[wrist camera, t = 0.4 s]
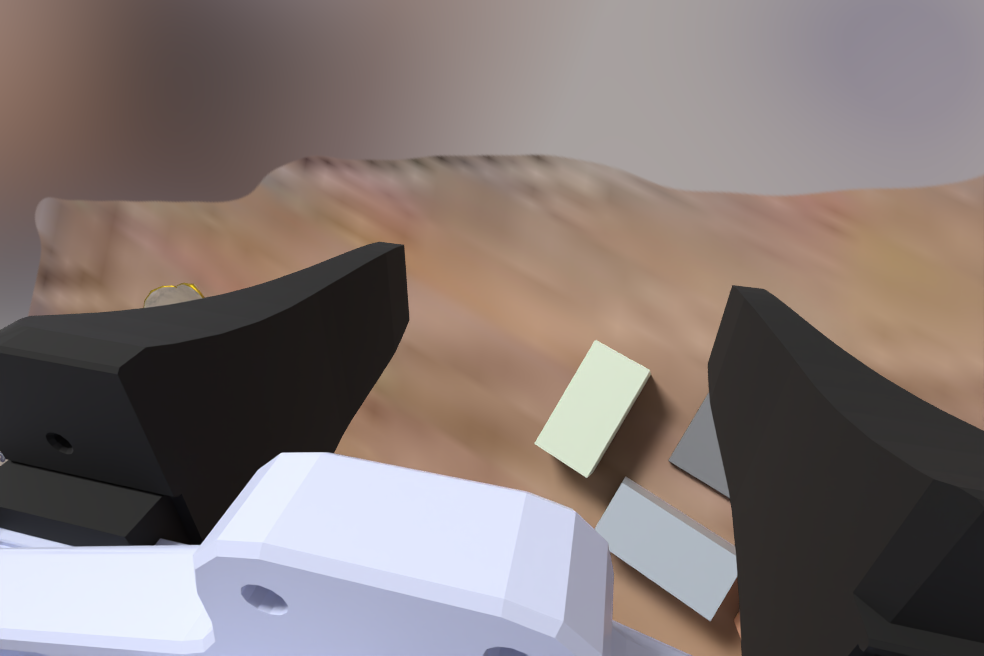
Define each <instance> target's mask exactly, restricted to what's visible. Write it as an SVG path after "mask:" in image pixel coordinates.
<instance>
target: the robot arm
mask: <svg viewBox="0 0 984 656" xmlns="http://www.w3.org/2000/svg"><path fill="white" fill-rule="evenodd" d="M408 322H409V307H408V293H407V279H406V265H405V251H404V245H401V244H393V243H385V242H377V243H372V244H369V245H366V246H363V247H360V248H357V249H354V250H352V251H349V252H347V253H344V254H342V255H339V256H336V257H334V258H331V259H329V260H326V261H324V262H321V263H319V264H316V265H314V266H311V267H309V268H306V269H303V270H300V271H297V272H295V273H292V274H289V275H286V276H283V277H281V278H278V279H275V280H272V281H269V282H266V283H263V284H259V285H256V286H252V287H249V288H245V289H241V290H237V291H234V292H230V293H226V294H221V295H217V296H212V297H207V298H202V299H196V300H191V301H186V302H181V303H175V304H170V305H163V306H155V307H148V308H140V309H131V310H122V311H112V312H100V313H83V314H64V315H45V316H29V317H25V318H22V319H20V320H18V321H16V322H14V323H12V324H10V325H8V326H7V327H5V328H3V329H1V330H0V451H1V453H2V454H3V456H4V457H5V459H7V461H6V462H5V463H4V464H2V465H1V466H0V656H692V655H690V654H687V653H685V652H683V651H681V650H678V649H676V648H674V647H672V646H669V645H667V644H665V643H663V642H660V641H658V640H656V639H654V638H652V637H649V636H647V635H645V634H643V633H640V632H638V631H636V630H634V629H631V628H629V627H627V626H625V625H622V624H620V623H618V622H616V621H614V620H612V611H613V584H614V572H613V566H612V561H611V556H610V550H609V545H608V542H607V541H606V540H605V539H604V538H603V537H602V536H601V535H600V534H599V533H598V532H597V531H596V530H594V529H593V528H592V527H591V526H590V525H589V524H588V523H587V522H586V521H585V520H584V519H583V518H582V517H581V516H580V515H579V514H578V513H577V512H575V511H574V510H573V509H571V508H569V507H566V506H564V505H561V504H558V503H556V502H553V501H551V500H548V499H545V498H543V497H540V496H538V495H535V494H532V493H530V492H527V491H522V490H517V489H512V488H507V487H502V486H496V485H491V484H486V483H481V482H476V481H471V480H466V479H461V478H456V477H451V476H446V475H441V474H436V473H430V472H425V471H420V470H415V469H410V468H405V467H400V466H395V465H390V464H385V463H380V462H375V461H370V460H364V459H359V458H354V457H349V456H344V455H339V454H334V452H335V450H336V448H337V446H338V444H339V442H340V440H341V438H342V436H343V434H344V432H345V431H346V429H347V427H348V425H349V424H350V422H351V420H352V419H353V417H354V416H355V414H356V413H357V411H358V409H359V408H360V406H361V405H362V403H363V402H364V400H365V399H366V397H367V396H368V394H369V393H370V391H371V390H372V388H373V386H374V385H375V383H376V382H377V380H378V379H379V377H380V376H381V374H382V373H383V371H384V369H385V368H386V366H387V365H388V363H389V362H390V360H391V358H392V357H393V355H394V353H395V352H396V350H397V347H398V345H399V343H400V341H401V339H402V336H403V334H404V332H405V329H406V327H407V324H408ZM708 382H709V398H710V406H711V411H712V416H713V421H714V426H715V430H716V435H717V440H718V444H719V449H720V453H721V458H722V462H723V467H724V471H725V476H726V481H727V485H728V490H729V496H730V502H731V508H732V517H733V528H734V539H735V550H736V563H737V577H738V591H739V607H740V628H741V650H742V656H984V431H983V430H981V429H979V428H977V427H975V426H973V425H971V424H969V423H967V422H964V421H962V420H960V419H958V418H956V417H954V416H952V415H950V414H948V413H946V412H944V411H942V410H940V409H938V408H937V407H935V406H933V405H931V404H929V403H927V402H925V401H923V400H922V399H920V398H918V397H916V396H915V395H913V394H911V393H910V392H908V391H906V390H905V389H903V388H901V387H899V386H898V385H896V384H894V383H893V382H891V381H889V380H888V379H886V378H884V377H883V376H881V375H880V374H878V373H876V372H875V371H873V370H872V369H870V368H869V367H867V366H866V365H865V364H863V363H862V362H860V361H859V360H857V359H856V358H854V357H853V356H852V355H850V354H849V353H847V352H846V351H844V350H843V349H842V348H840V347H839V346H838V345H836V344H835V343H834V342H832V341H831V340H830V339H828V338H827V337H826V336H824V335H823V334H822V333H821V332H819V331H818V330H817V329H815V328H814V327H813V326H812V325H810V324H809V323H808V322H807V321H805V320H804V319H803V318H802V317H800V316H799V315H798V314H797V313H796V312H794V311H793V310H792V309H791V308H789V307H788V306H787V305H786V304H784V303H783V302H782V301H780V300H779V299H778V298H777V297H775V296H774V295H772V294H771V293H769V292H768V291H766V290H765V289H759V288H751V287H743V286H735V285H732V288H731V291H730V295H729V298H728V301H727V304H726V307H725V311H724V314H723V317H722V320H721V323H720V327H719V330H718V333H717V336H716V339H715V342H714V346H713V349H712V352H711V355H710V358H709V362H708Z"/></svg>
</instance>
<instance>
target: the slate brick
mask: <svg viewBox="0 0 984 656" xmlns="http://www.w3.org/2000/svg"><path fill="white" fill-rule="evenodd" d="M594 530H596V531H597V532H598V533H599V534H600V535H601V536H602V537H603V538H604V539H605V540H606V541H607V542H608V545H609V550H610V552H612V553H613V554H615V555H616V556H617V557H619V558H620V559H622V560H623V561H625V562H626V563H627V564H629V565H630V566H632V567H633V568H635V569H636V570H638V571H639V572H640V573H642V574H643V575H645V576H646V577H648V578H649V579H650V580H652V581H653V582H655V583H656V584H658V585H659V586H660V587H662V588H663V589H665V590H666V591H668V592H669V593H670V594H672V595H673V596H675V597H676V598H678V599H679V600H681V601H682V602H683V603H685V604H686V605H688V606H689V607H691V608H692V609H693V610H695V611H696V612H698V613H699V614H701V615H702V616H703V617H705V618H706V619H708V620H709V621H711V619H712V618H713V616H714V614H715V613H716V611H717V609H718V608H719V606H720V604H721V603H722V601H723V599H724V598H725V596H726V594H727V593H728V591H729V589H730V588H731V586H732V584H733V583H734V581H735V579H736V578H737V563H736V550H735V546H734V545H733V544H731V543H730V542H728V541H726V540H725V539H723V538H722V537H720V536H719V535H717V534H715V533H714V532H712V531H711V530H709V529H708V528H706V527H705V526H703V525H701V524H700V523H698V522H697V521H695V520H694V519H692V518H690V517H689V516H687V515H686V514H684V513H683V512H681V511H679V510H678V509H676V508H675V507H673V506H672V505H670V504H668V503H667V502H665V501H664V500H662V499H661V498H659V497H658V496H656V495H654V494H653V493H651V492H650V491H648V490H647V489H645V488H643V487H642V486H640V485H639V484H637V483H636V482H634V481H632V480H631V479H629V478H628V477H626V476H625V478H624V480H623V482H622V483H621V485H620V487H619V488H618V490H617V492H616V493H615V495H614V497H613V498H612V500H611V502H610V504H609V505H608V507H607V509H606V510H605V512H604V514H603V515H602V517H601V519H600V520H599V522H598V524H597V526H596V527H595V529H594Z"/></svg>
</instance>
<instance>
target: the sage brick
mask: <svg viewBox="0 0 984 656" xmlns="http://www.w3.org/2000/svg"><path fill="white" fill-rule="evenodd" d="M650 375H651V372H650V370H649V369H647V368H645V367H643V366H641V365H640V364H638V363H636V362H634V361H632V360H631V359H629V358H627V357H625V356H623V355H622V354H620V353H618V352H616V351H614V350H613V349H611V348H609V347H607V346H605V345H604V344H602V343H600V342H598V341H596V340H595V341H594V343H593V345H592V346H591V348H590V350H589V352H588V353H587V355H586V357H585V358H584V360H583V362H582V363H581V365H580V367H579V369H578V370H577V372H576V374H575V375H574V377H573V379H572V380H571V382H570V384H569V386H568V387H567V389H566V391H565V392H564V394H563V396H562V398H561V399H560V401H559V403H558V404H557V406H556V408H555V409H554V411H553V413H552V415H551V416H550V418H549V420H548V421H547V423H546V425H545V427H544V428H543V430H542V432H541V433H540V435H539V437H538V438H537V440H536V442H535V444H536V445H537V446H539V447H540V448H542V449H543V450H545V451H546V452H548V453H550V454H551V455H553V456H554V457H556V458H557V459H559V460H560V461H562V462H563V463H565V464H566V465H568V466H569V467H571V468H572V469H574V470H575V471H577V472H578V473H580V474H581V475H583V476H585V477H586V478H587V477H589V476H590V475H591V474H592V473H593V472H594V470H595V469H596V467H597V465H598V464H599V462H600V460H601V458H602V457H603V455H604V453H605V452H606V450H607V448H608V447H609V445H610V443H611V442H612V440H613V438H614V436H615V435H616V433H617V431H618V430H619V428H620V426H621V425H622V423H623V421H624V419H625V418H626V416H627V414H628V413H629V411H630V409H631V408H632V406H633V404H634V402H635V401H636V399H637V397H638V396H639V394H640V392H641V391H642V389H643V387H644V386H645V384H646V382H647V380H648V379H649V377H650Z"/></svg>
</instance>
